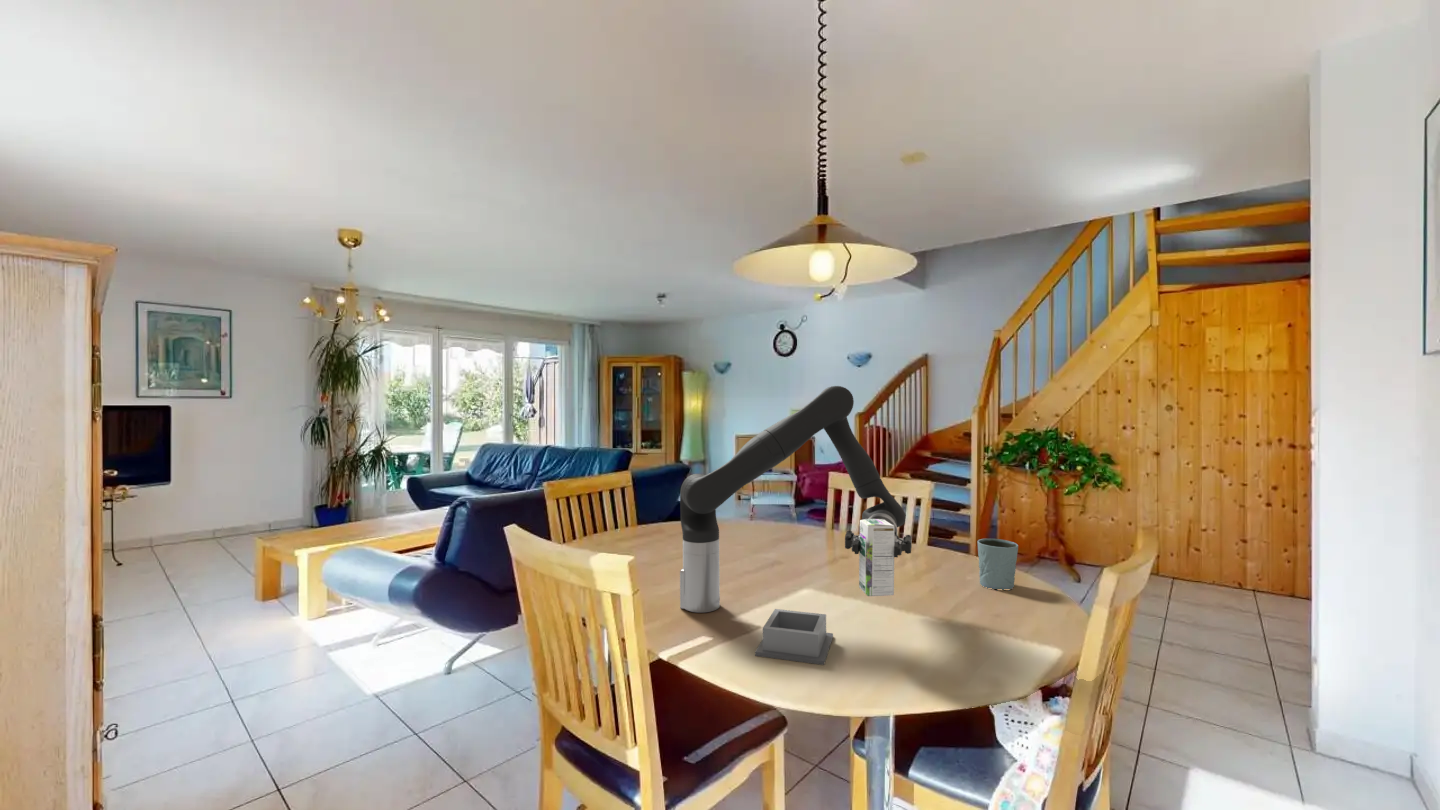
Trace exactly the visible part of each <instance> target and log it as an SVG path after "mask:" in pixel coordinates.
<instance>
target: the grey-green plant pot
mask: <svg viewBox="0 0 1440 810" xmlns="http://www.w3.org/2000/svg"><path fill="white" fill-rule="evenodd" d="M1018 553H1019V545H1018V544H1017V543H1016V542H1014V541H1010V540H1006V539H1000V538H981V539H978V540H977V555H978V567H979V568H978V569H979V573H978V574H979V575H978V576H979V585H980V584H981V585H982V586H981V585H980V586H981V587H983V586H984V587H983V588H985V587H987V588H986V589H988V588H992V589H1002V590H1004V589H1012V588H1013V587H1015V579H1016V578H1015V576H1016V568H1017V567H1016V565H1017V559H1018ZM992 589H991V590H992ZM1013 589H1014V588H1013ZM1013 589H1012V590H1013Z"/></svg>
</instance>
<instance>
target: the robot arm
mask: <svg viewBox="0 0 1440 810" xmlns="http://www.w3.org/2000/svg"><path fill="white" fill-rule="evenodd" d="M854 402H855V401H854V396H853V393H852V392H851V391H850V390H849V389H848V388H846V387H844V386H840V385H834V386H829V387H827V388H825V389H824V390H822V391H821V392H820V393H819V394H818V395H816V397H814V398H813V399H812V400H811V401H810V402H808V403H807V404H806V405H805V406H804V407H802V408H801V409H799V410H798V411H796V412H794V413H792V414H790V415H788V416H787V417H786V416H785V418H782V419H781V420H779V421H777V422H775V423H773V424H772V425H771V426H769V427H767V428H766V429H764V430H763V431H761V432H759V433H758V434H756V435H755V436H753V437H752V438H751V439H749V440H748V441H747V442H746V443H745V444H744V445H743V446H742V447H741V448H739V450H738V451H737V452H736V453H735V455H733V457H731V459H729V460H728V462H725V464H723V465H722V466H719V467H718V468H716V469H715V470H713V471H711V472H710V473H707V474H703V473H693V474H691V475H688V476H687V477H686V478H684V480H683V482H682V484H681V487H680V492H679V495H680V496H679V499H680V501H679V505H680V511H679V512H680V526H681V531H682V533H681V534H682V568H681V569H680V570H679V595H680V596H679V597H680V598H679V600H680V601H679V602H680V603H679V607H680V609H683V610H685V611H689V612H692V613H699V614H700V613H710V612H714V611H717V610H718V609H719V608H720V607H721V605H720V604H721V602H720V601H721V598H720V597H721V596H720V595H721V594H720V592H721V591H720V589H721V588H720V587H721V586H720V584H721V583H720V528H719V524H718V520H717V512H716V511H717V509H718V508H719V507H720V506H722V505H723V504H724V503H725V502H726V501H728V499H730V498H731V497H732V496H733V495H734V494H735V493H736V492H737V493H738V491H739V490H741V489H742V488H743V487H745V486H746V485H747V484H750V483H751V482H752V481H754V480H755V479H758V478H759V477H761V476H763V474H765V473H766V472H769V471H770V470H772V469H773V468H775V467H776V466H778V465H780V464H781V463H782V462H784V461H785V460H786V459H788V458H789V457H790V456H792V455H793V454H794V453H795V452H797V451H798V450H799V449H800V448H801V447H802V446H804V444H806V443H807V442H808V441H809V440H810V439H811V438H812V437H814V435H816V434H818V433H819V432H820V431H821V430H824V431H825V433H826V434H827V436H828V437H829V439H830V441H831V442H832V444H833V446H834V448H835V449H836V451H837V453H838V455H839V457H840V459H841V461H842V464H843V465H844V467H845V470H846V471H847V473H848V475H849V478H850V481H851V482H852V485H853V487H854V489H855V492H856V493H857V495H858V497H859V498H861V499H862V500H863V499H864V500H865V499H870V498H879V499H881V501H882V502H880V503H877V504H875V505H873V506H871V507H868V508H867V509H865V510H864V511H863V512H862V514H861V516H862V517H861V520H864V519H882V520H886V521H887V522H889V523H890V524H892V525H894V526H895V530H894V531H895V532H894V558H898V557H899V556H902V554H903V552H904V553H905V554H907V555H909V554H912V548H913V547H912V546H913V545H912V541H913V540H912V535H911V534H906V535H905V536H903V538H902V537H900V536H899V534H898V528H899V527H901V526H903V525H904V524H905V523H906V513H905V511H904V508H903V507H902V506H901V505H900V504H899V502H898V500H896V499H895V498H894V496H893V495H892V494H891V493H890V491H889V490H888V488H887V487H886V486H885V484H884V482H883V480H882V479H881V475H880V474H879V471H878V469H877V467H876V466H875V465H876V464H875V463H874V461H873V460H872V458H871V456H870V455H869V454H868V453H867V451H866V450H865V448H864V447H863V446H862V445H861V444H860V442H859V441H858V440H857V439H856V436H855V434H854V433H853V431H852V428H851V426H850V424H849V419H848V416H849V415H850V414H851V412H852V411H853V408H854ZM859 545H860V533H858V534H855V533H854V532H853V531H851V530H846V533H845V536H844V549H845V550H846V549H847V550H850V549H851V552H852V553H854V555H859Z"/></svg>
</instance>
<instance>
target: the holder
mask: <svg viewBox="0 0 1440 810" xmlns="http://www.w3.org/2000/svg"><path fill="white" fill-rule="evenodd" d="M833 638H834V633H833V632H827V614H825V613H816V612H807V611H800V610H799V611H797V610H790V609H789V610H787V609H781V608H780V609H778V608H774V610H773V611H772V612H771V614H770V616H769V617H768V619H767V621H766V622H765V624H764V625H763V627H762V640H761V641H760V643H759V644H758V647H757V648H756V649H755V651H754V656H755V657H763V658H769V659H778V660H785V661H791V662H798V663H799V662H800V663H805V664H807V663H808V664H812V665H813V664H814V665H820V666H824V665H825V663H826V660H827V657H828V653H829V650H830V648H831V644H832V641H833Z"/></svg>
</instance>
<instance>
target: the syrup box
mask: <svg viewBox="0 0 1440 810" xmlns="http://www.w3.org/2000/svg"><path fill="white" fill-rule="evenodd" d="M894 530H895V526H894V525H892V524H890V523H889V522H887V521H886V520H882V519H864V520H862V519H860V520H859V534H860V545H859V553H858V555H859V558H858V564H859V565H858V587H859V589H860V590H861V591H862V592H863V593H864V594H865V596H867V597H884V596H887V597H888V596H894V595H895V557H894V532H895V531H894Z"/></svg>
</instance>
